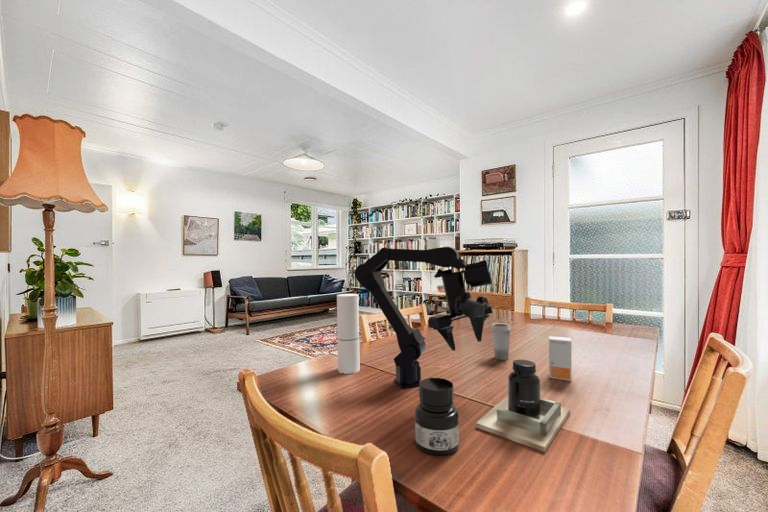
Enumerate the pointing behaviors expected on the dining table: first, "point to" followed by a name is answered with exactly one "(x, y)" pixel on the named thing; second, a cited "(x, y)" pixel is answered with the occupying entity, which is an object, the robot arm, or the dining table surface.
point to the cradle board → (526, 424)
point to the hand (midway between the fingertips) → (466, 345)
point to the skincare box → (560, 358)
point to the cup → (501, 340)
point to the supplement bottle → (524, 389)
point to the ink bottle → (436, 418)
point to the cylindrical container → (348, 333)
